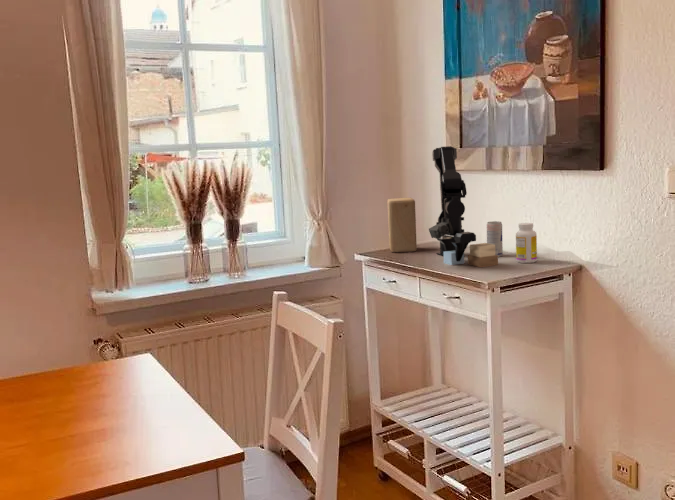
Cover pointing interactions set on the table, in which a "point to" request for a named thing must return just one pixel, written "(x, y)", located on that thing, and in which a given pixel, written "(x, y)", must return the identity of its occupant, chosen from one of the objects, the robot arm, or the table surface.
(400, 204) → the wooden block
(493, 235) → the energy drink
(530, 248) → the supplement bottle
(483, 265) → the base block
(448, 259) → the top block
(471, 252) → the mid block
